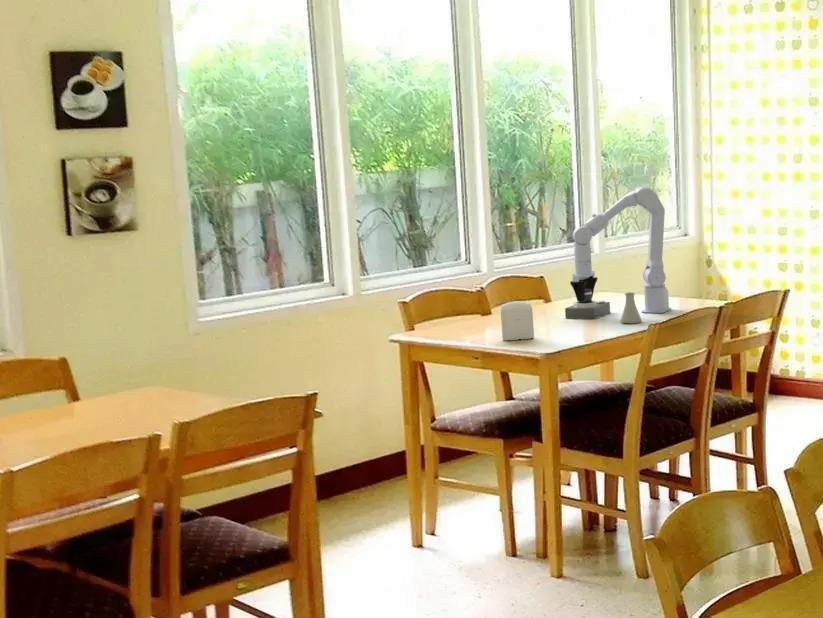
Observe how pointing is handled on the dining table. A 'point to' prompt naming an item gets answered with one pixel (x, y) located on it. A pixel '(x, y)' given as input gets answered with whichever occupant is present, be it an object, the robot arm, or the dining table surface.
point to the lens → (587, 296)
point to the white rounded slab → (517, 321)
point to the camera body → (587, 310)
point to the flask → (630, 310)
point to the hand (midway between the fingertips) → (584, 299)
